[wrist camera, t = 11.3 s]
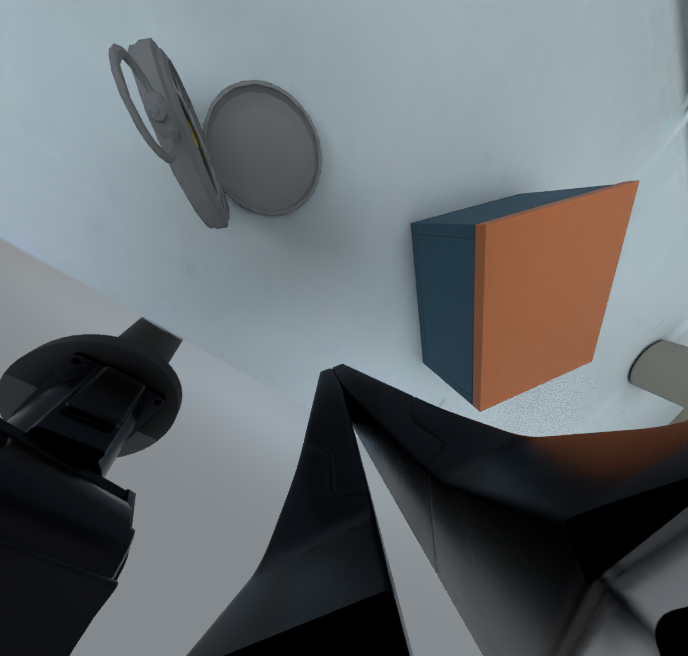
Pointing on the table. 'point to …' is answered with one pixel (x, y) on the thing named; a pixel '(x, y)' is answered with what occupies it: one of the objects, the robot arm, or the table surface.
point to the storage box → (458, 281)
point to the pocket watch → (224, 138)
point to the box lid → (544, 289)
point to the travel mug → (663, 372)
